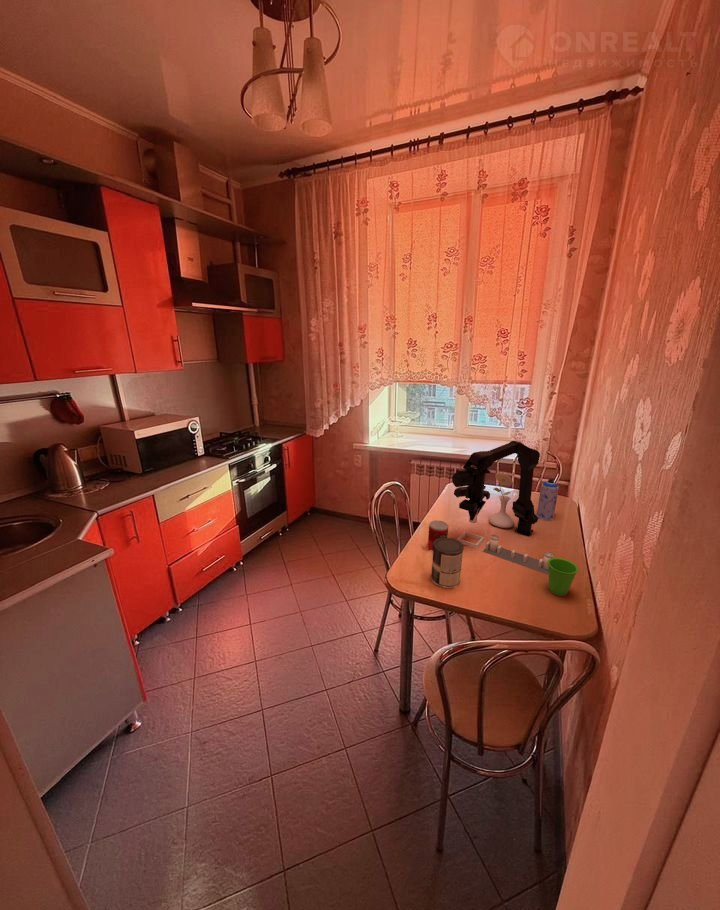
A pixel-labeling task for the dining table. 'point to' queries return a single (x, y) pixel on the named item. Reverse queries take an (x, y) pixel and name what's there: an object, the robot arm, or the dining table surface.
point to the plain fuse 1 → (494, 543)
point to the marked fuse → (474, 519)
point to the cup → (561, 575)
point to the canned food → (436, 532)
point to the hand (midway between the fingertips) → (473, 518)
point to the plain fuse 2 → (546, 557)
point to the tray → (470, 542)
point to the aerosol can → (547, 500)
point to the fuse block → (517, 558)
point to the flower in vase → (502, 504)
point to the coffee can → (447, 562)
